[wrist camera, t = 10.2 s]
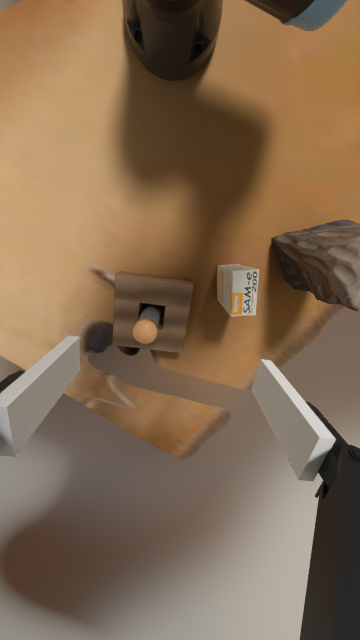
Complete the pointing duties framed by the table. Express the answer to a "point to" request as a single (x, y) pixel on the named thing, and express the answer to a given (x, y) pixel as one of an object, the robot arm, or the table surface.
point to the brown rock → (323, 261)
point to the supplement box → (237, 289)
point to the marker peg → (147, 324)
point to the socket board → (158, 292)
